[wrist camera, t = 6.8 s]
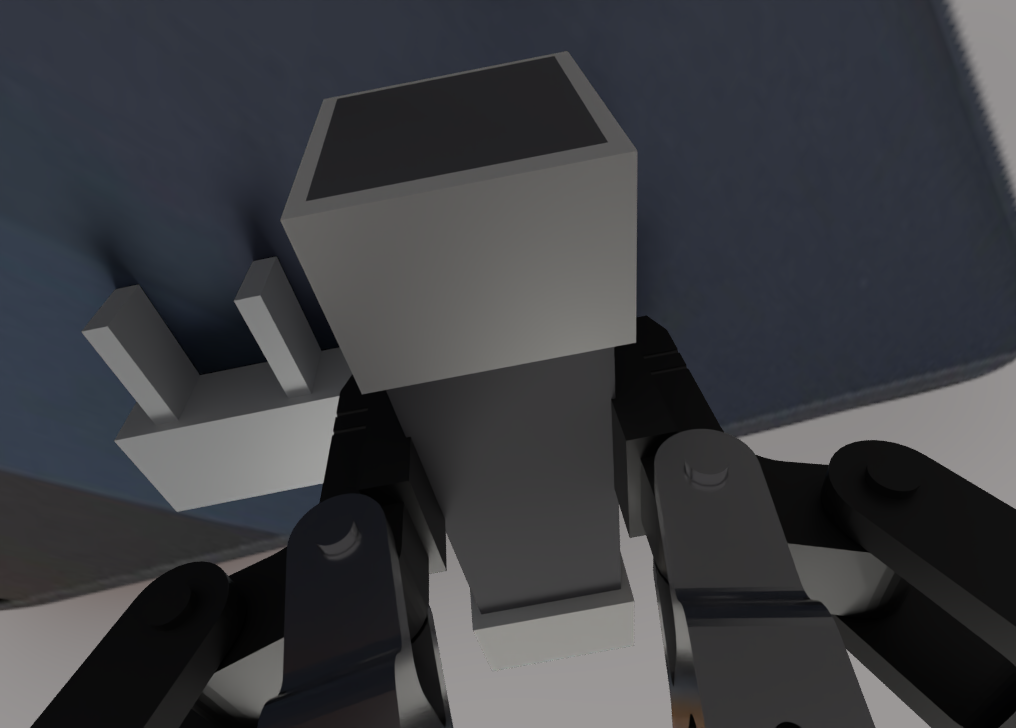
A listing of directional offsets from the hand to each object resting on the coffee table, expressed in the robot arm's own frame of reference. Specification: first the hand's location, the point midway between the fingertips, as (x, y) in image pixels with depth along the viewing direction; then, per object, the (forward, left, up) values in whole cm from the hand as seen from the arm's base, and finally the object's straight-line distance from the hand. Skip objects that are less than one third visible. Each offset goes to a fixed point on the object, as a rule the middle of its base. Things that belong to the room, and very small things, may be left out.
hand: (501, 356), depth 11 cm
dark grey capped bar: (+1, 0, 0) cm, 1 cm away
